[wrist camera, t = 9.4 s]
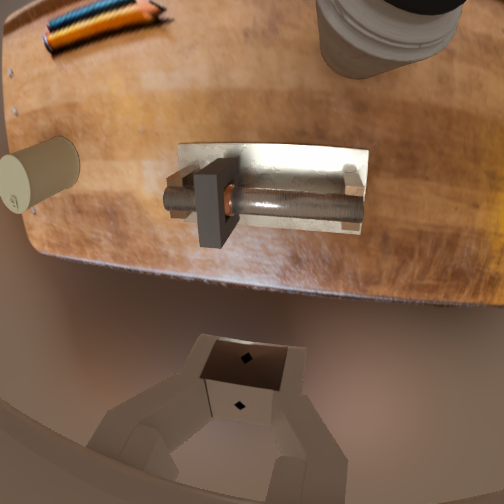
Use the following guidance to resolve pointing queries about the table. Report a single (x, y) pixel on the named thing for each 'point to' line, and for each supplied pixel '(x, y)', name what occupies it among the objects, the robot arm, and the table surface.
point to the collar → (215, 201)
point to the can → (37, 173)
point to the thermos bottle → (383, 33)
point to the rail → (278, 185)
